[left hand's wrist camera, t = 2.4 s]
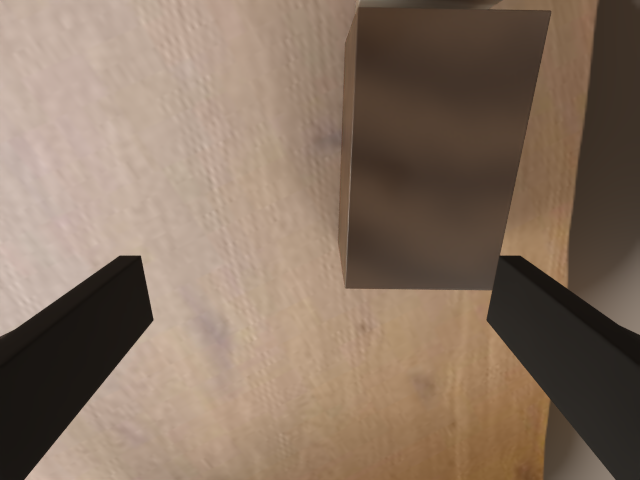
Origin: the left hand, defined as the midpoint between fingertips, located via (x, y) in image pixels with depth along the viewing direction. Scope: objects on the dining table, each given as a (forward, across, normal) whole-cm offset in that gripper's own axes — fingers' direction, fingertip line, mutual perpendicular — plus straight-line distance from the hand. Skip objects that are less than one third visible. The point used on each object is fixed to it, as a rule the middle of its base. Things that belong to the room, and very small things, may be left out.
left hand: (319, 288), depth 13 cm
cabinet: (+19, -7, -3) cm, 20 cm away
